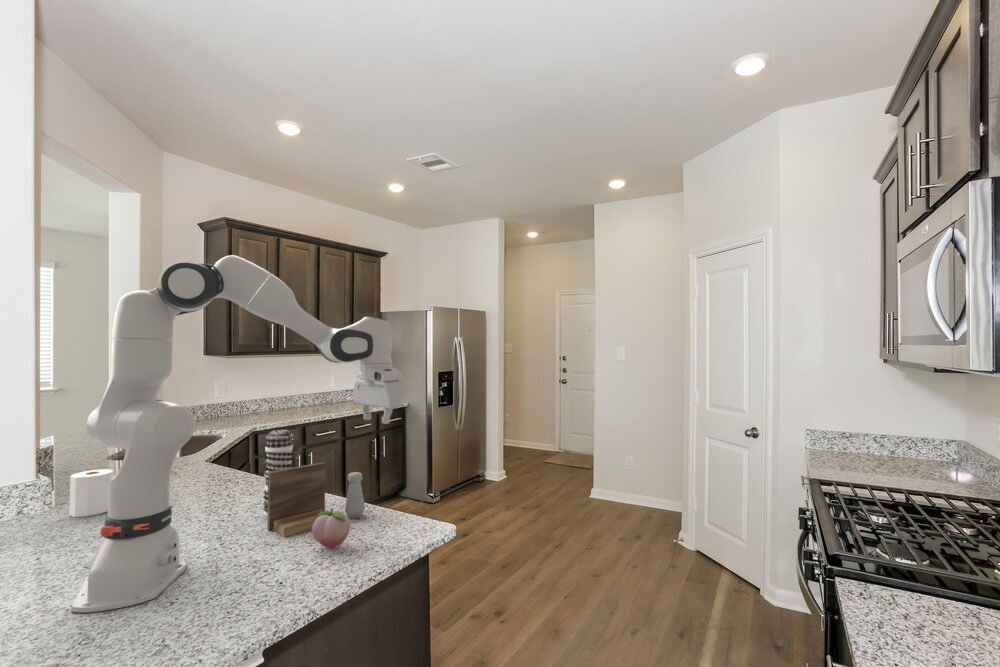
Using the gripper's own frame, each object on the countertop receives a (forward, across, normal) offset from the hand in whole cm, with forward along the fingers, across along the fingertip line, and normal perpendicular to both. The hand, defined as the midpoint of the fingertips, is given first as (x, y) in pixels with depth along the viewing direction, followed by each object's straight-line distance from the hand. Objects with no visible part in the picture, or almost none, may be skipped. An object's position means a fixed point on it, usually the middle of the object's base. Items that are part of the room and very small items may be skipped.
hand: (376, 421), depth 137 cm
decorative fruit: (+30, +5, -16) cm, 34 cm away
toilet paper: (+30, -77, -54) cm, 99 cm away
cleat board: (+30, -16, -14) cm, 36 cm away
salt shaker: (+30, -12, 0) cm, 32 cm away
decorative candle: (+30, -33, -14) cm, 47 cm away
